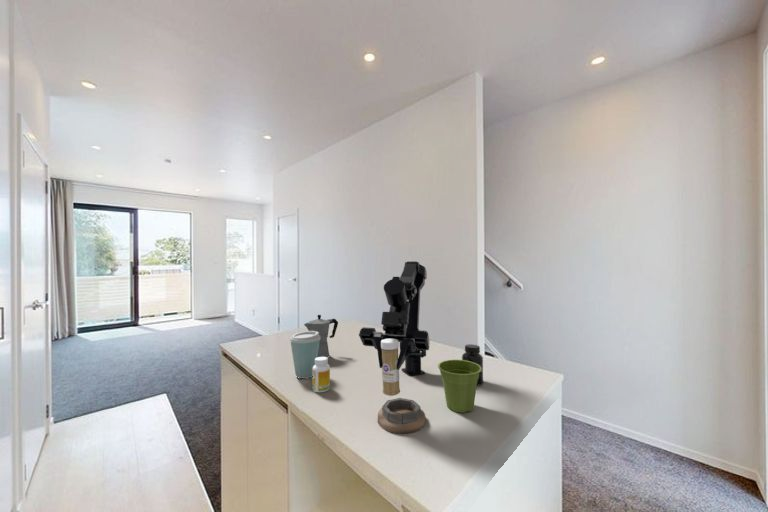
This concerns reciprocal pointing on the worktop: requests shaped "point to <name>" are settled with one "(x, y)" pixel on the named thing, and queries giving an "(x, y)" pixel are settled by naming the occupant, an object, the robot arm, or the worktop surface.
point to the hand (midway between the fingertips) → (389, 368)
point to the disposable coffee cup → (305, 352)
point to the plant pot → (459, 383)
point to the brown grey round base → (401, 416)
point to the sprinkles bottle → (390, 366)
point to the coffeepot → (322, 333)
